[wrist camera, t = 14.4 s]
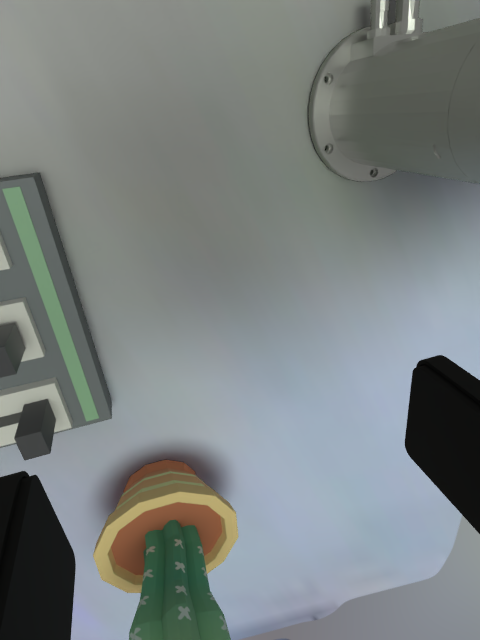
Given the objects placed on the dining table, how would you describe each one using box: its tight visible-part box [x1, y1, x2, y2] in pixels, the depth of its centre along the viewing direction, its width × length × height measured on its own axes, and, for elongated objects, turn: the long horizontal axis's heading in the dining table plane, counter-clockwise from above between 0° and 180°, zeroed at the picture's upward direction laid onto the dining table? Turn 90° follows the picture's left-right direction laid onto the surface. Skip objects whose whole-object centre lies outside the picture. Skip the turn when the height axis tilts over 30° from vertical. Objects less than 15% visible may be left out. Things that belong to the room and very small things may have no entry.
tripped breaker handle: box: [0, 323, 26, 378], centre depth 31 cm, size 2×2×4 cm
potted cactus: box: [93, 460, 238, 640], centre depth 40 cm, size 15×15×25 cm
